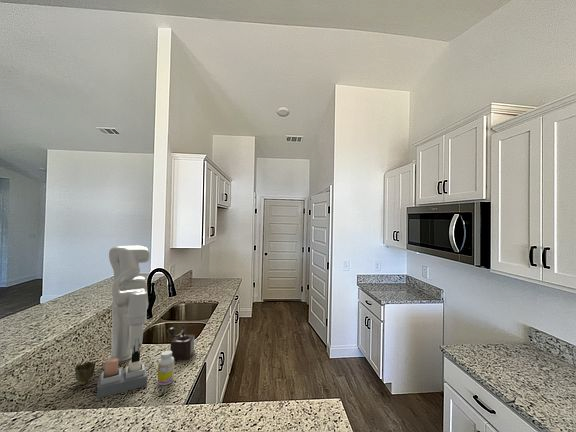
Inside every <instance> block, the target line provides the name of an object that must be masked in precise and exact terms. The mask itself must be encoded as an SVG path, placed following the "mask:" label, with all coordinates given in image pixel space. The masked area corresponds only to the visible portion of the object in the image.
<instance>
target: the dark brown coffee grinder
mask: <svg viewBox="0 0 576 432" xmlns="http://www.w3.org/2000/svg"><path fill="white" fill-rule="evenodd" d="M185 329H186V326H185V324H183V325H182V328H181V331H180V333H179V334H175V333H176V328H175V327H169V328H168V329H167V335H168V338H173V339H172V340H171V342H170V349H169V351H172V357H174V361H189V360H190V359H191V358H192V357H193V354H194V353H195V334H186V333H185Z"/></svg>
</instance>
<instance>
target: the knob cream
mask: <svg viewBox="0 0 576 432" xmlns="http://www.w3.org/2000/svg"><path fill="white" fill-rule="evenodd" d="M141 363H142V358H140V361H137V362H133V363H132V361H131V360H130V361H129V365H128V366H129V372H133V371H138V370H141Z"/></svg>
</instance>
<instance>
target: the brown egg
mask: <svg viewBox="0 0 576 432" xmlns="http://www.w3.org/2000/svg"><path fill="white" fill-rule="evenodd" d="M118 369H119V362H118V358H112V359H109V360H108V359H107V360H105V362H104V372H105V375H113V374H115V373H117V372H118Z"/></svg>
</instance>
